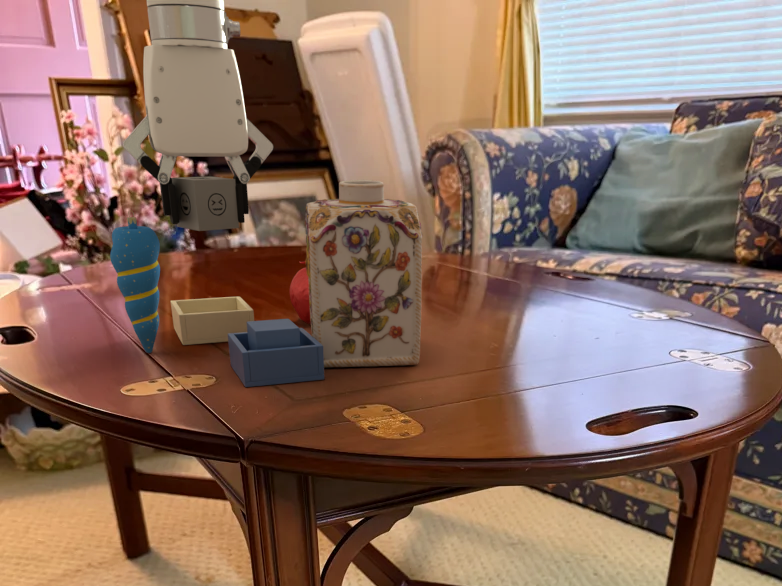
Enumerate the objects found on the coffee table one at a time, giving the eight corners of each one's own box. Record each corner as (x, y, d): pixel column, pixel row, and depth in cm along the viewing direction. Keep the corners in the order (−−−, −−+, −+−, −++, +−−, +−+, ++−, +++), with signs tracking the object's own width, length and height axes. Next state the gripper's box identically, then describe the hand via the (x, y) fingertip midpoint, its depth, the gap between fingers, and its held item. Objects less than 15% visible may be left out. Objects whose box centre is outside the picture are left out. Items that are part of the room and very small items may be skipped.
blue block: (258, 375, 78) (255, 331, 76) (250, 364, 81) (246, 321, 79) (301, 371, 79) (299, 327, 77) (291, 360, 83) (288, 318, 81)
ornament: (147, 345, 90) (126, 207, 82) (183, 350, 88) (165, 209, 81) (116, 356, 85) (92, 211, 78) (154, 361, 84) (132, 213, 76)
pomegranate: (370, 329, 98) (369, 252, 93) (291, 331, 97) (287, 253, 92) (362, 312, 106) (361, 241, 102) (290, 314, 105) (286, 242, 101)
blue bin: (245, 387, 76) (242, 352, 74) (230, 365, 82) (227, 333, 81) (324, 379, 78) (323, 345, 77) (304, 359, 85) (302, 327, 83)
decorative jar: (406, 340, 93) (409, 177, 84) (422, 366, 83) (426, 185, 74) (308, 342, 92) (300, 177, 83) (312, 369, 82) (303, 185, 73)
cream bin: (182, 345, 90) (178, 315, 88) (174, 328, 97) (170, 300, 95) (255, 339, 93) (253, 309, 91) (242, 323, 100) (239, 296, 98)
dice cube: (216, 223, 89) (211, 176, 87) (239, 228, 86) (235, 179, 83) (177, 226, 86) (171, 177, 84) (199, 231, 83) (194, 180, 80)
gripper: (265, 40, 83) (276, 217, 92) (97, 31, 77) (124, 220, 86) (280, 33, 77) (290, 224, 85) (98, 23, 71) (128, 228, 80)
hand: (207, 220), depth 86 cm, fingers closed on dice cube, 6 cm apart
